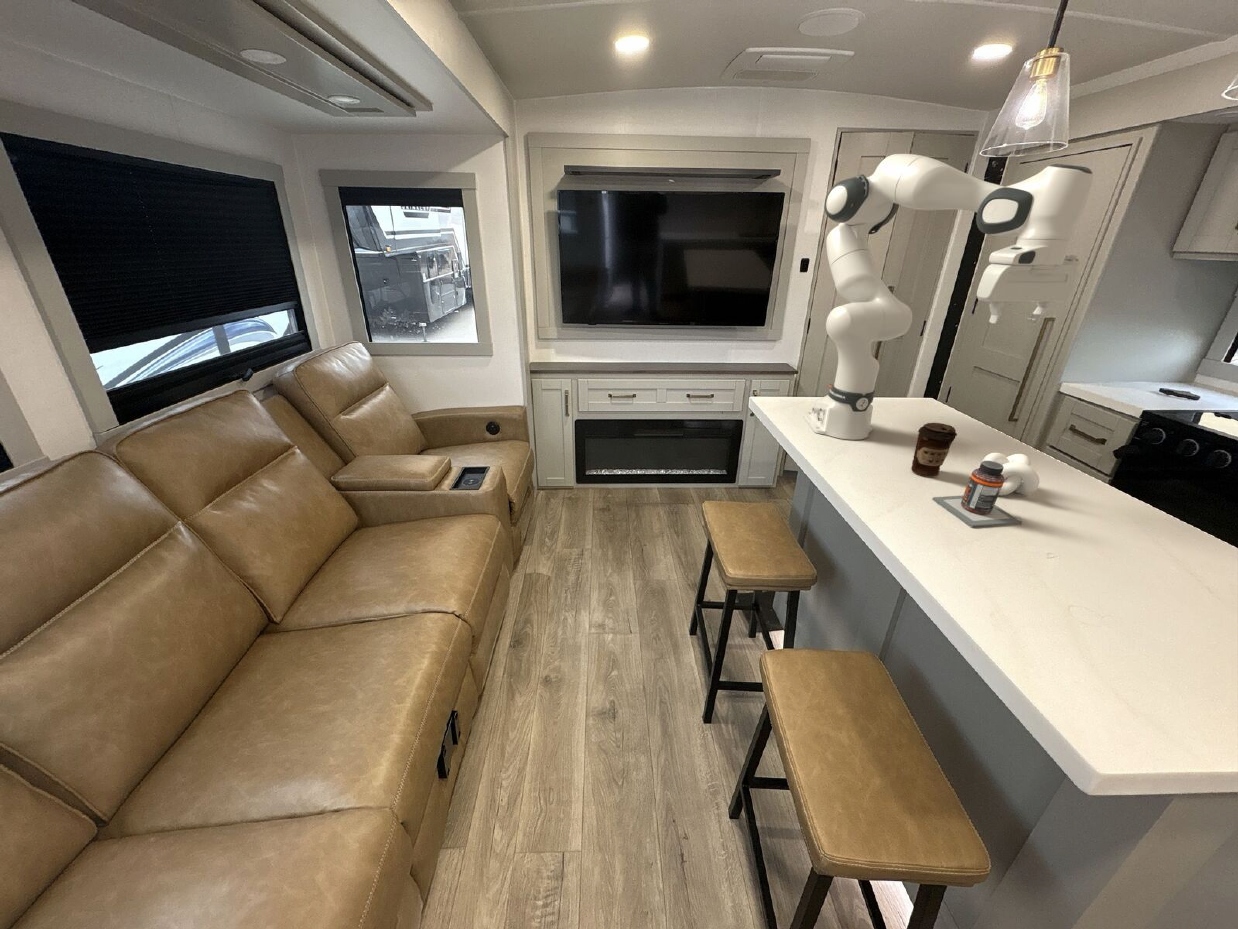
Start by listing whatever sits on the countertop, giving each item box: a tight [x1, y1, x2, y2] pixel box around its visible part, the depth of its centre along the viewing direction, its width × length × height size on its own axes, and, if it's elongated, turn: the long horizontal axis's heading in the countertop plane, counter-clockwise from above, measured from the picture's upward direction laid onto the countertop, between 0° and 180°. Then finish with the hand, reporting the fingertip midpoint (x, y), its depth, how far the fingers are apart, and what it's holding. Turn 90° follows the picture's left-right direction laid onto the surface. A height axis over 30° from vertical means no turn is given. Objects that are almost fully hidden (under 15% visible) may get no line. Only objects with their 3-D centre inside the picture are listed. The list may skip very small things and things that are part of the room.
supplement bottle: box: [961, 461, 1005, 515], centre depth 107 cm, size 6×6×11 cm
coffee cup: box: [910, 422, 958, 478], centre depth 124 cm, size 9×8×13 cm
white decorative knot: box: [980, 452, 1041, 496], centre depth 118 cm, size 11×12×9 cm
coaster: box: [931, 494, 1023, 529], centre depth 110 cm, size 12×12×1 cm
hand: (1013, 322), depth 107 cm, fingers open, 8 cm apart
